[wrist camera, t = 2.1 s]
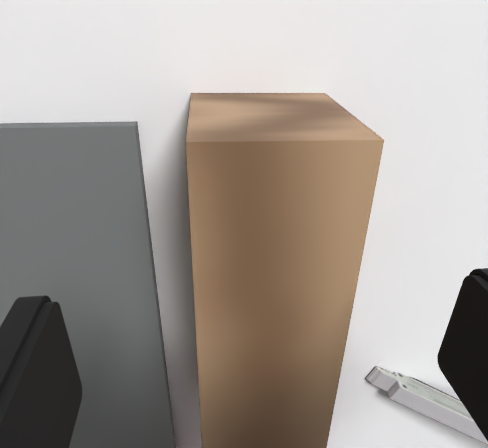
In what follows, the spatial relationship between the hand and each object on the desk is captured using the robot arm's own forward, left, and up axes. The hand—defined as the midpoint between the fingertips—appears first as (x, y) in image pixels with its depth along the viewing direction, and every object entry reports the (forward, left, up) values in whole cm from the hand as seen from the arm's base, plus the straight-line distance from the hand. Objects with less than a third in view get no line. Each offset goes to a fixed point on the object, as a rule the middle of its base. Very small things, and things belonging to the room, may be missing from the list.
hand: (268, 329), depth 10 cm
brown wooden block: (-1, +4, -9) cm, 10 cm away
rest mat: (+8, +7, -8) cm, 14 cm away
